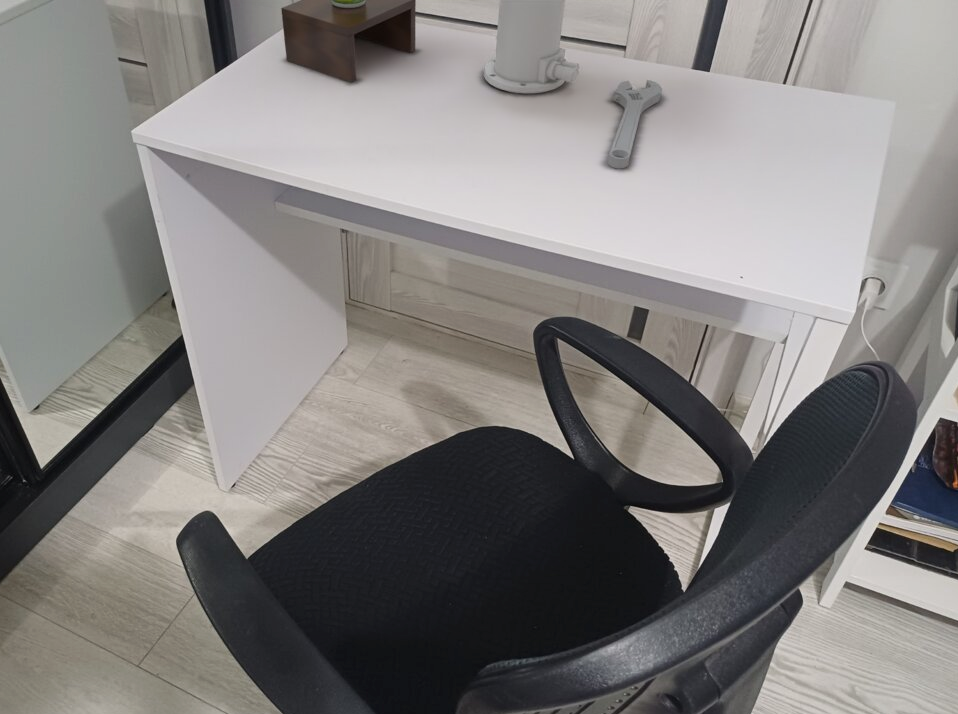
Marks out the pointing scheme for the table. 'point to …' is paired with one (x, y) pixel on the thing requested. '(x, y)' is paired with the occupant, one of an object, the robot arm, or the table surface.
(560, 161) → the table surface
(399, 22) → the shelf
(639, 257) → the table surface
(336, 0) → the supplement bottle
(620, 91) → the adjustable wrench
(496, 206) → the table surface
